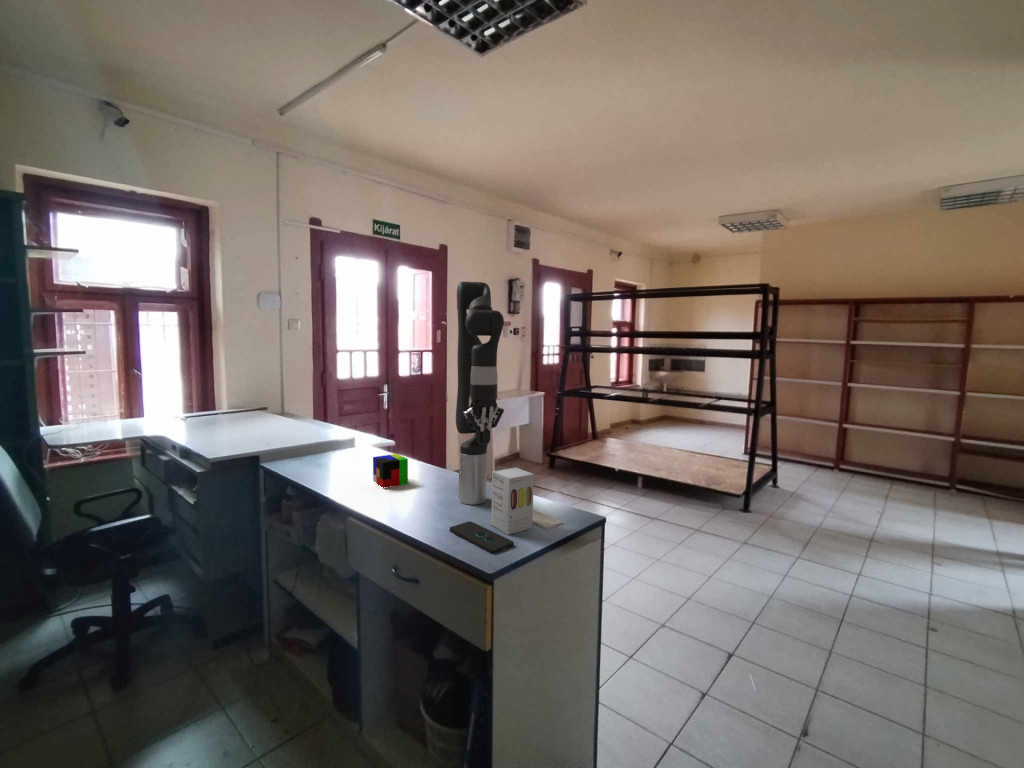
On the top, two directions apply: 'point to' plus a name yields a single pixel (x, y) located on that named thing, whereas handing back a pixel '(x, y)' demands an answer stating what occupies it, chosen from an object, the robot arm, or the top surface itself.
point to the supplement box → (512, 500)
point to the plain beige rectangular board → (545, 520)
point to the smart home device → (482, 537)
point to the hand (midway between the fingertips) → (483, 443)
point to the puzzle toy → (390, 470)
